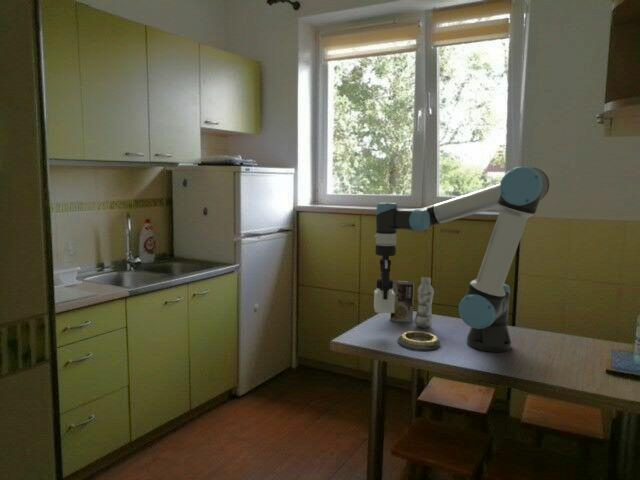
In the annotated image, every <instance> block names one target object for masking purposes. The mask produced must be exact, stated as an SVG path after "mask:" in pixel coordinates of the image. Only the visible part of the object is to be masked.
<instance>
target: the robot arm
mask: <svg viewBox="0 0 640 480" xmlns="http://www.w3.org/2000/svg"><path fill="white" fill-rule="evenodd" d="M549 190H550V180H549V177H548V175H547V174H546V173H545V172H544V171H543V170H541V169H540V168H537V167H534V166H533V167H532V166H526V165H521V166H515V167H513V168H512V169H510V170H508V171H507V172H506V173H505V174H504V175H503V177H502V179H500V183H498V184H495V185H492V186H488V187H486V188H483V189H479V190H476V191H473V192H470V193H467V194H463V195H459V196H457V197H453V198H451V199H448V200H444V201H441V202H438V203H435V204H431V205H428V206H425V207H420V208H398V204H397V203H396V202H378V203H377V205H376V211H375V222H376V223H375V225H376V226H375V235H374V236H373V237H374V239H375V244H376V245H375V250H374V251H375V255H376V256H380V257H381V258H380V259H379V264H380V265H379V266H380V267H379V269H380V279H382V289H380V291H381V308H389V289H390V288H389V279H390V273H391V265H392V260H391V259H390V257H393V256H396V254H397V246H396V244H397V230H405V231H406V230H407V231H415V232H420V231H426V230H427V229H428V228H432V227H434V226H437V225H440V224H444V223H447V222H451V221H454V220H458V219H461V218H465V217H468V216H471V215H475V214H479V213H482V212H487V211H489V210H492V209H496V208H499V211H498V215H497V218H496V221H495V224H494V227H493V230H492V233H491V236H490V239H489V241H488V244H487V247H486V251H485V253H484V256H483V260H482V261H481V265H480V268H479V271H478V273H477V276H476V278H475V279H473V280H471V281H470V282H469V285H468V288H467V290H466V294H465V296H464V297H463V298H462V299H461V300H460V302H459V305H458V314H459V318H461V320H462V321H463V322H464V324H466V325H467V326H469V327H470V329H469V331H468V333H467V336H466V344H467V345H468V346H470V347H472V348H474V349H476V350H480V351H483V352H489V353H490V352H491V353H504V352H508V351H510V350H511V348H512V339H511V335H510V331H509V327H508V324H509V323H508V321H509V311H510V309H509V308H510V299H511V298H510V296H511V288H510V285H508V284H506V283H505V282H506V280H507V277H508V274H509V271H510V268H511V266H512V262H513V260H514V257H515V255H516V252H517V250H518V246H519V243H520V241H521V238H522V235H523V232H524V230H525V227H526V225H527V221H528V219H529V218H531V217H532V216H535V214H536V212H537V210H538V206H539V204H540V201H541V200H543V199H544V198H545V197H546V196H547V194H548V192H549ZM384 286H387V287H384Z"/></svg>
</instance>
